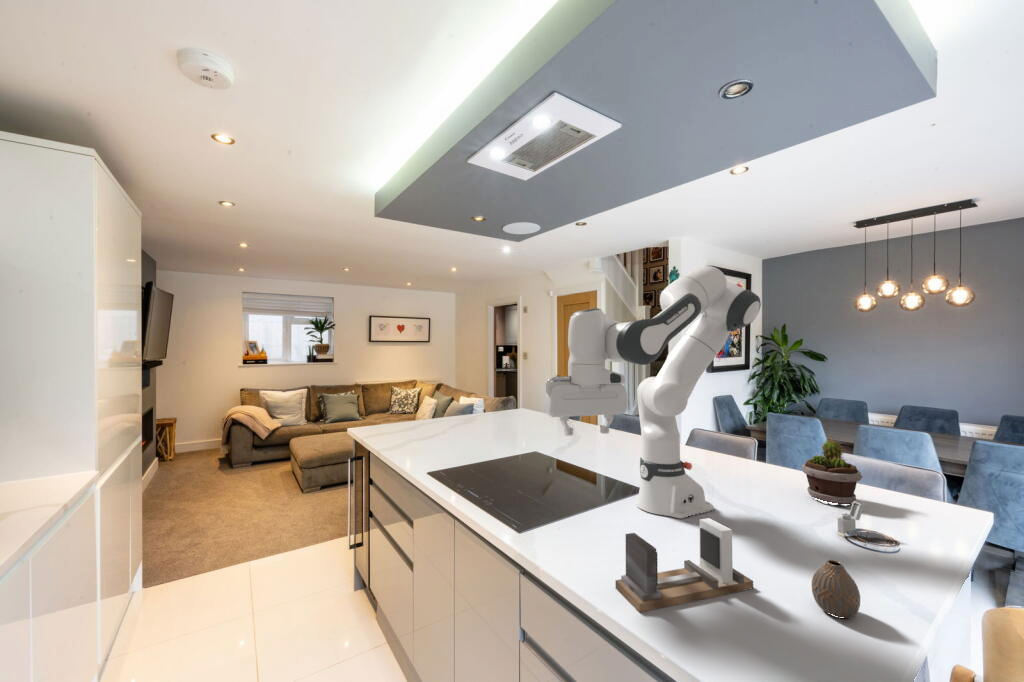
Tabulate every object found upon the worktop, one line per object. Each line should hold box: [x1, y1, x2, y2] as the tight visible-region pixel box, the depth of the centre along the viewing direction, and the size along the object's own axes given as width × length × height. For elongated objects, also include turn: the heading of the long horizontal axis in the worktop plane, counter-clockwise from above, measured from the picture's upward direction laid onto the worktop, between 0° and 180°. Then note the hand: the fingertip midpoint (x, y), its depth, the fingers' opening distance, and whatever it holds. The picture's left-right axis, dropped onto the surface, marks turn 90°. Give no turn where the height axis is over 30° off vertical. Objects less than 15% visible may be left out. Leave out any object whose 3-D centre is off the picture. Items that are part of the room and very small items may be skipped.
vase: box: [811, 559, 861, 619], centre depth 74 cm, size 7×7×9 cm
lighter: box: [837, 501, 864, 534], centre depth 106 cm, size 7×2×8 cm, turn 107°
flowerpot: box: [801, 437, 863, 505], centre depth 130 cm, size 14×15×20 cm
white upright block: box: [699, 517, 734, 583], centre depth 83 cm, size 3×6×10 cm, turn 17°
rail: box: [615, 532, 754, 613], centre depth 81 cm, size 26×8×10 cm, turn 107°
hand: (586, 434), depth 98 cm, fingers open, 8 cm apart
